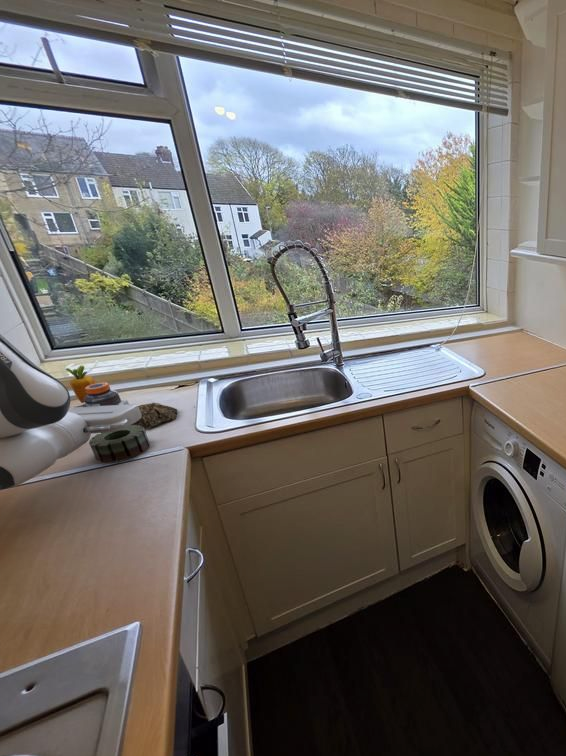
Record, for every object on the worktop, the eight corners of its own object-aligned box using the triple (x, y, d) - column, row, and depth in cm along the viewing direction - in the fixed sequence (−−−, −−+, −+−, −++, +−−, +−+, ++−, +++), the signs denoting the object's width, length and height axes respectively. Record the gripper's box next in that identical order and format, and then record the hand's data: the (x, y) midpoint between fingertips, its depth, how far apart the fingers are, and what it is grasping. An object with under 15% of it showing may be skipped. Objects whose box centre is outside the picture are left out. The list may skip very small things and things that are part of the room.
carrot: (79, 416, 118) (57, 368, 112) (97, 408, 122) (77, 362, 116) (93, 418, 117) (72, 369, 111) (111, 410, 122) (92, 363, 116)
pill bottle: (129, 419, 103) (113, 378, 99) (131, 427, 99) (114, 385, 95) (97, 427, 99) (78, 384, 95) (98, 436, 95) (78, 392, 91)
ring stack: (94, 467, 96) (86, 450, 94) (99, 448, 103) (92, 432, 101) (149, 453, 101) (142, 437, 99) (150, 437, 108) (144, 421, 107)
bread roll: (111, 426, 113) (104, 410, 111) (157, 407, 124) (151, 392, 122) (145, 433, 110) (138, 417, 108) (189, 413, 121) (184, 398, 119)
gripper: (110, 416, 86) (152, 389, 98) (-5, 422, 82) (53, 394, 95) (121, 441, 88) (160, 412, 101) (9, 449, 85) (64, 418, 97)
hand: (107, 403), depth 98 cm, fingers closed on pill bottle, 6 cm apart
